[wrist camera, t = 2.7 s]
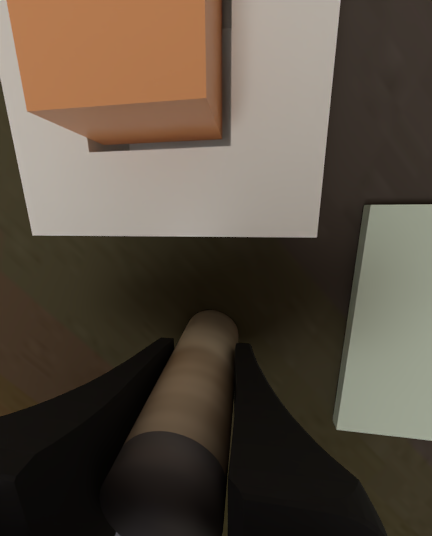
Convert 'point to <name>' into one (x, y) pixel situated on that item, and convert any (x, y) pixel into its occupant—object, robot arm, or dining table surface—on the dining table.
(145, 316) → the dining table surface
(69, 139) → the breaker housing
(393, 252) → the sage board
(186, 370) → the tan lidded jar
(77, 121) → the button
